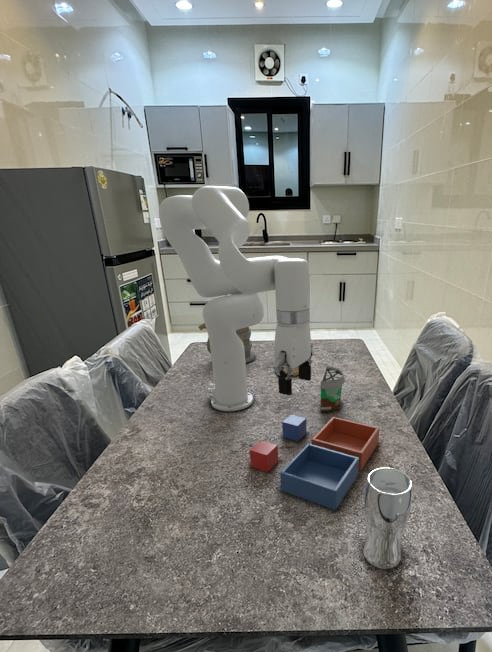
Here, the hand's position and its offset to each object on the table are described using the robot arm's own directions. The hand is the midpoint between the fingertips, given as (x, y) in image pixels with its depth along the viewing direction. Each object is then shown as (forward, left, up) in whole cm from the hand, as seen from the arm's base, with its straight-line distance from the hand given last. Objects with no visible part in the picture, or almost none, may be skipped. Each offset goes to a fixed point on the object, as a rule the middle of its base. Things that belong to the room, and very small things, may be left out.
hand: (295, 386), depth 93 cm
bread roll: (-22, +39, -14) cm, 47 cm away
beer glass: (+31, -26, -14) cm, 43 cm away
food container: (+2, +20, -14) cm, 24 cm away
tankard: (-51, +38, -14) cm, 65 cm away
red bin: (+14, 0, -14) cm, 19 cm away
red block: (0, -14, -14) cm, 20 cm away
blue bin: (+14, -14, -14) cm, 24 cm away
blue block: (0, 0, -14) cm, 14 cm away
